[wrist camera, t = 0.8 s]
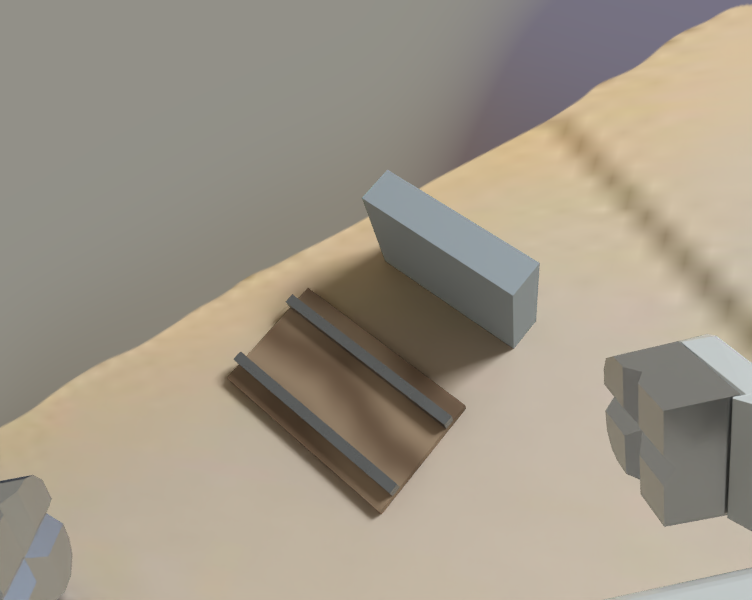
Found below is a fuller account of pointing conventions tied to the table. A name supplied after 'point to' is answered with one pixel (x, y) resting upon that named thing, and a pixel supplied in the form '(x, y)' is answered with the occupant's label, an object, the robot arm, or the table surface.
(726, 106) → the table surface
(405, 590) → the table surface
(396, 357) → the track board
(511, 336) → the tall grey rectangular block
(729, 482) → the robot arm
